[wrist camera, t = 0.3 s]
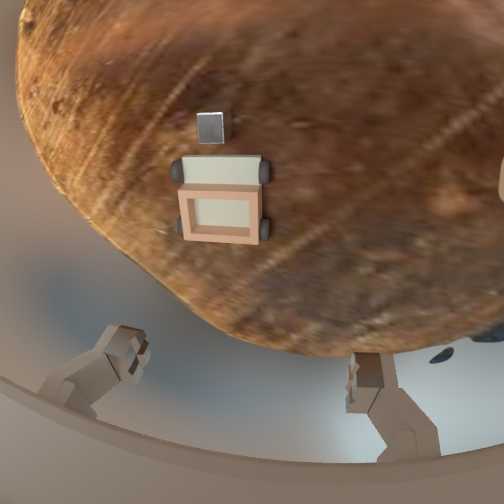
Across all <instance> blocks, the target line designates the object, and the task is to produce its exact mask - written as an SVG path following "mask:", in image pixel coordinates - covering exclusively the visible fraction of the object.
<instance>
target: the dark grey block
mask: <svg viewBox="0 0 504 504" xmlns="http://www.w3.org/2000/svg"><path fill="white" fill-rule="evenodd" d="M197 117H198V132H199V144H214V143H225V142H226V141H227V140H228V139H229V138H230V137H231V136H232V113H231V108H208V109H206V110H203V111H201V112H199V113H197Z"/></svg>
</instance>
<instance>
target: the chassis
mask: <svg viewBox="0 0 504 504" xmlns="http://www.w3.org/2000/svg"><path fill="white" fill-rule="evenodd" d="M170 176H171V180H172V181H173V182H185V183H184V184H183V185H182V186H181V188H180V189H179V190H178V197H179V204H180V212H181V215H180V217H179V219H178V233H179V235H183V236H184V240H193V241H208V242H224V243H239V244H254V245H258V244H259V241H260V240H263V241H268V240H269V234H270V219H262V184H268V185H269V181H270V161H262V155H184V156H183V157H182V160H176V161H173V162H172V164H171V168H170Z"/></svg>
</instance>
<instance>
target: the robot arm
mask: <svg viewBox="0 0 504 504" xmlns="http://www.w3.org/2000/svg"><path fill="white" fill-rule="evenodd" d="M145 337H146V334H145V331H144V330H141V329H136V328H132V327H127V326H123V325H118V324H114V323H111V324H110V325H108V327H107V328H106V330H105V331H104V333H103V335H102V336H101V338H100V339H99V341H98V342H97V344H96V346H95V347H94V349H93V350H89V351H87V352H85V353H83V354H81V355H80V356H78V357H76V358H74V359H73V360H71V361H69V362H68V363H66V364H64V365H62V366H61V367H59V368H57V369H55V370H54V371H52V372H50V373H49V375H48V376H47V378H46V379H45V381H44V383H43V384H42V386H41V387H40V389H39V391H38V392H37V394H36V393H34V392H32V391H30V390H28V389H26V388H24V387H22V386H20V385H18V384H16V383H14V382H12V381H10V380H9V379H7V378H5V377H3V376H1V375H0V504H504V443H503V444H499V445H495V446H491V447H487V448H482V449H478V450H473V451H468V452H463V453H457V454H451V455H445V456H441V453H440V445H439V438H438V432H437V427H436V426H435V425H434V424H433V423H432V421H431V420H430V419H429V418H428V417H427V416H426V415H425V413H424V412H423V411H422V410H421V409H420V408H419V407H418V406H417V404H415V402H414V401H413V400H412V399H411V398H410V397H409V395H408V394H407V393H406V392H405V391H404V390H403V389H402V388H398V382H397V376H396V370H395V364H394V358H393V355H392V353H363V352H353V354H352V356H351V365H349V366H348V369H347V373H346V390H347V391H348V394H347V397H346V413H365V414H366V413H367V415H368V417H369V418H370V420H371V421H372V423H373V424H374V426H375V428H376V429H377V431H378V432H379V434H380V435H381V437H382V438H383V440H384V441H385V443H386V445H387V448H386V449H385V450H384V451H383V453H381V455H380V456H379V457H378V458H377V462H376V463H313V462H312V463H311V462H294V461H282V460H272V459H263V458H254V457H247V456H240V455H233V454H227V453H221V452H216V451H210V450H205V449H200V448H195V447H191V446H186V445H182V444H178V443H174V442H169V441H165V440H161V439H158V438H154V437H150V436H147V435H143V434H140V433H137V432H133V431H130V430H127V429H123V428H121V427H117V426H115V425H111V424H109V423H106V422H103V421H100V420H98V419H96V417H97V414H96V412H95V411H94V410H93V408H92V407H91V406H90V405H92V404H93V403H94V402H96V401H97V400H98V399H99V398H101V397H102V396H103V395H104V394H105V393H107V392H108V391H109V390H110V389H112V388H113V387H114V386H116V385H117V384H118V383H119V382H120V381H123V382H127V383H132V384H136V385H138V383H139V381H140V379H141V376H142V374H143V370H142V367H144V366H145V365H147V364H148V362H149V359H150V354H151V349H150V345H149V343H148V342H147V341H146V340H145Z"/></svg>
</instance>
